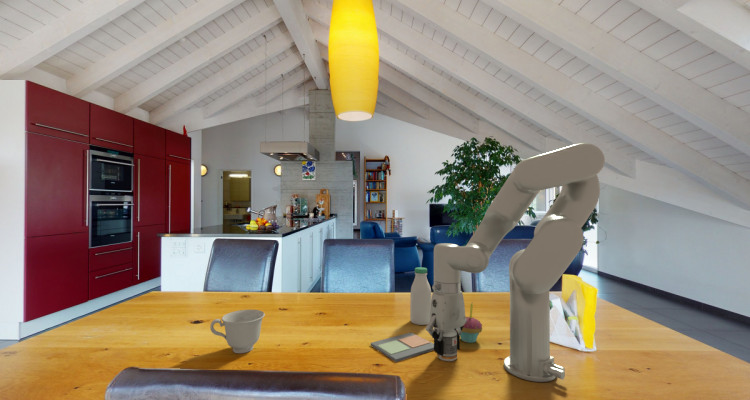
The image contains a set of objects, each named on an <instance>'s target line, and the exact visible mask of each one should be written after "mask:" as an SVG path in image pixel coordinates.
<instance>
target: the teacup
mask: <svg viewBox="0 0 750 400" xmlns="http://www.w3.org/2000/svg"><path fill="white" fill-rule="evenodd" d="M264 317H265V312H264V311H262V310H259V309H240V310H236V311H232V312H228V313H226V314H224V315H223V316H222V317H221V319H220V318H215V319H214V320H212V322H211V323H210V332H211V333H212V334H214V335H215V336H219V337H223V339H225V341H226V343H227V345H228V347H230V348H232V352H233V353H235V354H246V353H249V352H251V351H252V350H253V349H254V345H256V343H258V341H259V340H260V336H261V329H262V322H263V318H264ZM215 324H219V327H224V331H225V334H224V333H223V332H220V331H217V330H216V329H215V327H214V326H215Z"/></svg>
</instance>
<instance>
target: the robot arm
mask: <svg viewBox="0 0 750 400" xmlns="http://www.w3.org/2000/svg"><path fill="white" fill-rule="evenodd" d="M601 149H602V148H601ZM601 149H600V148H599V147H598V146H597V145H595V144H592V143H588V142H581V143H576V144H572V145H569V146H566V147H562V148H559V149H556V150H552V151H549V152H546V153H545V152H544V153H542V154H538V155H535V156H532V157H528V158H525V159H522V160H521V161H519V162H518V163H517V164H516V165H515V167H514V169H513V170H512V171H511V173H510V174H509V176H508V178H506V180H505V182H504V183H503V185H502V186H501V188H500V190H499V191H498V193H497V194H496V195H495V197H494V199H493V200H492V202H491V203H490V205H489V207H488V208H487V209H486V211H485V214H484V216H483V218H482V220H481V222H480V224H479V225H478V227H477V228H476V230H475V231H474V233H473V234H472V235H471V237H470V239H469V241H468V242H467V244H466V245H464V246H463V245H461V246H460V245H458V244H455V243H448V242H447V243H445V242H444V243H436V244H435V245H434V248H433V284H432V287H431V288H432V289H431V290H432V291H433V292H431V307H430V321H429V323H428V324H427V325H426V327H425V331H426V332H427V333H428V334H429V335H430V336H431V337H432V339H433V344H434V350H433V352H434V353H435V354H436V355H437V354H439V355H443V354H444V342H443V341H442V337H443V333H444V332H445V331H449V330H452V329H454V330H456V332H457V351H459V350H461V349H460V348H461V337H460V335H461V331H462V329H463V327H464V324H465V323H466V321H467V319H466V318H465V316H466V308H465V299H464V294H463V291H462V289H461V286H462V285H461V283H462V282H461V279H462V278H461V271H462V272H466V273H470V274H479V273H483V272H484V271H485V270H486V269H487V268H488V266H489V262H490V257H491V256H492V254H493V253H494V252H495V250H496V249H497V248H498V246H499V245H500V243H501V241H502V240H503V239H504V238H505V236H506V235H507V234H508V233H510V232H511V231H512V230H513V229H515V227H516V226H517V225H518V223H519V222H520V221H521V219H522V218H523V216H524V215H525V213H526V212H527V210H528V208H529V207H530V206H531V205H532V203H533V201H534V200H535V199H536V197H537V196H538V194H539V193H540V191H545V190H549V189H552V188H553V189H554V188H556V187H561V190H560V192H559V194H558V196H557V197H556V199H555V200H554V201H553V203H552V204H551V206H550V208H549V209H548V210H547V212H545V214H544V216H543V217H542V218H541V219H540V220H539V221H538V222H537V224H536V226H535V228H534V231H533V237H532V239H531V240H530V242H529V244H528V245H527V246H526V248H524V249H521V250H518V251H516V252H515V253H514V254H513V255H512V257H511V258H510V260H509V265H508V275H509V279H508V281H509V356H507V357H505V358H504V359H503V366H504V369H505V370H506V371H507V372H508V373H510V374H511V375H513V376H515V377H516V378H519V379H523V380H526V381H530V382H535V383H537V382H538V383H545V382H546V383H547V382H551V381H553V380H555V379H556V378H557V379H560V380H565V377H566V373H565V371H566V370H565V367H564V366H561V365H559V364H558V365H557V364H556V363H555V357H554V356H551V349H550V348H551V345H550V344H551V342H550V340H551V339H550V337H551V333H550V332H551V330H550V327H551V325H550V324H551V323H550V321H551V320H550V313H551V312H550V311H551V309H550V305H551V304H550V290H551V289H552V288H553V287H554V285H555V284H556V283H558V281H559V280H560V278H561V277H562V275H563V274H564V273H565V271H567V269H568V268H569V266H570V265H571V263H573V260H575V258H576V257H577V255H578V254H579V252H580V251H581V250H582V246H583V244H584V231H583V229H582V228H583V226H584V225H585V224H586V222H587V221H588V219H589V218H590V216H591V215H592V213H593V212H594V210H595V208H596V207H597V204H598V202H599V199H600V194H601V189H600V188H601V185H600V181H599V176H598V174H599V173H600V172H601V171H602V169H603V168H604V166H605V160H606V159H605V154H604V152H603V150H601ZM438 330H439V335H438V334H437V332H438Z"/></svg>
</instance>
